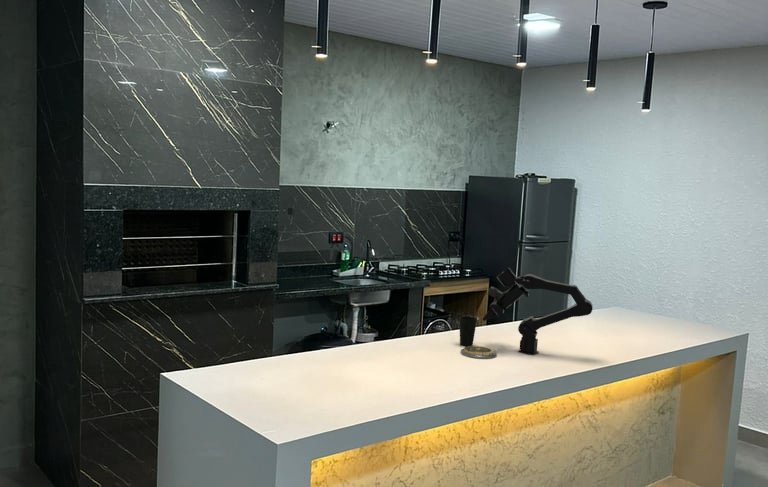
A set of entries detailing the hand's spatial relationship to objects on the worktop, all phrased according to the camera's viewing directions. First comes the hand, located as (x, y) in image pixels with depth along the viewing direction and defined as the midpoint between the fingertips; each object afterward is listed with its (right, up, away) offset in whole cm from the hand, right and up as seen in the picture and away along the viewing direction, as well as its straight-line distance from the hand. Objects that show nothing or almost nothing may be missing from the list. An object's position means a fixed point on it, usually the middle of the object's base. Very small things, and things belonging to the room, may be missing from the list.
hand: (484, 317), depth 300 cm
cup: (-8, -12, +3) cm, 15 cm away
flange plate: (-4, -14, -12) cm, 19 cm away
